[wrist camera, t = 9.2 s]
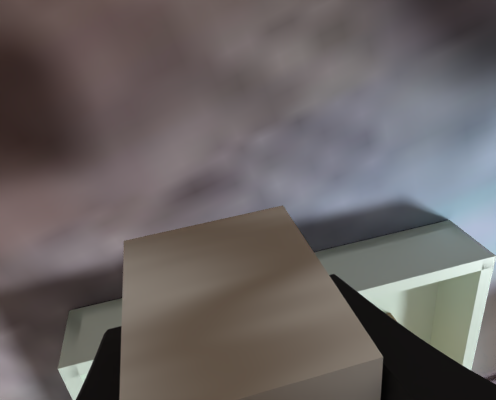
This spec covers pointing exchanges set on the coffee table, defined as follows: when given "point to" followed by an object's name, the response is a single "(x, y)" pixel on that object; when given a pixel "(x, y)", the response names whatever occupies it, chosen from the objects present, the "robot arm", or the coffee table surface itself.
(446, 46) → the coffee table surface
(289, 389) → the part birch
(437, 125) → the coffee table surface
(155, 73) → the coffee table surface
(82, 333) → the tray
